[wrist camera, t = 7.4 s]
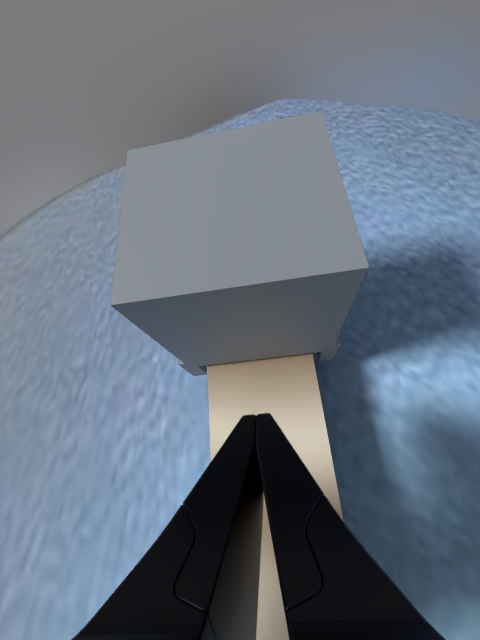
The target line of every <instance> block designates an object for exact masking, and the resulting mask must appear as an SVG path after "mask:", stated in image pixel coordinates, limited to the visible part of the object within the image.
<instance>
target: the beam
mask: <svg viewBox="0 0 480 640" xmlns="http://www.w3.org/2000/svg"><path fill="white" fill-rule="evenodd" d="M207 366H208V395H209V423H210V452H211V461H212V460H213V458H214V457H215V455H216V454H217V452H218V451H219V449H220V448H221V446H222V445H223V444H224V442H225V441H226V439H227V438H228V436H229V435H230V433H231V432H232V430H233V429H234V427H235V426H236V424H237V423H238V422H239V420H240V419H241V417H242V416H243V415H251V414H255V415H256V416H257V415H258V414H262V413H270V414H271V415H272V416H273V418H274V419H275V421H276V422H277V424H278V425H279V427H280V428H281V430H282V431H283V433H284V434H285V436H286V437H287V439H288V440H289V442H290V443H291V445H292V446H293V448H294V449H295V451H296V452H297V454H298V455H299V457H300V458H301V460H302V461H303V463H304V464H305V466H306V467H307V469H308V470H309V472H310V473H311V475H312V476H313V478H314V479H315V481H316V482H317V484H318V485H319V487H320V488H321V490H322V491H323V493H324V496H326V497H327V498H328V500H329V501H330V503H331V504H332V506H333V507H334V509H335V510H336V512H337V513H338V514H339V516H340V517H341V519H342V520H343V515H342V509H341V504H340V498H339V493H338V488H337V482H336V477H335V472H334V466H333V461H332V455H331V450H330V445H329V439H328V434H327V429H326V423H325V418H324V412H323V407H322V402H321V396H320V391H319V385H318V380H317V375H316V369H315V364H314V359H313V353H308V354H299V355H291V356H282V357H274V358H265V359H257V360H248V361H240V362H232V363H223V364H215V365H207ZM343 521H344V520H343ZM256 640H289V635H288V629H287V623H286V618H285V612H284V606H283V600H282V595H281V589H280V583H279V578H278V572H277V566H276V561H275V555H274V549H273V543H272V538H271V532H270V526H269V521H268V515H267V509H266V503H265V498H264V503H263V521H262V540H261V558H260V576H259V594H258V612H257V630H256Z"/></svg>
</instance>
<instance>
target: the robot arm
mask: <svg viewBox="0 0 480 640" xmlns="http://www.w3.org/2000/svg"><path fill="white" fill-rule="evenodd" d="M264 498H265V503H266V509H267V515H268V521H269V526H270V532H271V538H272V543H273V549H274V555H275V561H276V566H277V572H278V578H279V583H280V589H281V595H282V600H283V606H284V612H285V618H286V623H287V629H288V635H289V640H446V639H445V638H444V637H442V636H441V635H440V634H439V633H438V632H437V631H436V630H435V629H434V628H433V627H432V626H431V625H430V624H429V623H428V621H427V620H426V619H425V618H424V617H423V616H422V615H421V614H420V613H419V611H418V610H417V609H416V608H415V607H414V606H413V605H412V603H411V602H410V601H409V600H408V599H407V598H406V596H405V595H404V594H403V593H402V592H401V590H400V589H399V588H398V587H397V586H396V585H395V583H394V582H393V581H392V580H391V579H390V578H389V576H388V575H387V574H386V573H385V572H384V571H383V569H382V568H381V567H380V566H379V565H378V563H377V562H376V561H375V560H374V559H373V558H372V556H371V555H370V554H369V553H368V552H367V551H366V549H365V548H364V547H363V546H362V544H361V543H360V542H359V541H358V539H357V538H356V537H355V536H354V535H353V533H352V532H351V531H350V530H349V528H348V527H347V526H346V524H345V523H344V521H343V520H342V519H341V517H340V516H339V514H338V513H337V512H336V510H335V509H334V507H333V506H332V504H331V503H330V501H329V500H328V498H327V497H326V496H324V493H323V491H322V490H321V488H320V487H319V485H318V484H317V482H316V481H315V479H314V478H313V476H312V475H311V473H310V472H309V470H308V469H307V467H306V466H305V464H304V463H303V461H302V460H301V458H300V457H299V455H298V454H297V452H296V451H295V449H294V448H293V446H292V445H291V443H290V442H289V440H288V439H287V437H286V436H285V434H284V433H283V431H282V430H281V428H280V427H279V425H278V424H277V422H276V421H275V419H274V418H273V416H272V415H271V414H270V413H262V414H258V415H257V416H256V415H255V414H251V415H243V416H242V417H241V419H240V420H239V422H238V423H237V424H236V426H235V427H234V429H233V430H232V432H231V433H230V435H229V436H228V438H227V439H226V441H225V442H224V444H223V445H222V446H221V448H220V449H219V451H218V452H217V454H216V455H215V457H214V458H213V460H212V461H211V463H210V464H209V465H208V467H207V468H206V470H205V471H204V473H203V474H202V476H201V477H200V479H199V480H198V482H197V483H196V485H195V486H194V487H193V489H192V490H191V492H190V493H189V495H188V496H187V498H186V499H185V501H184V502H183V505H181V506H180V508H179V509H178V511H177V512H176V514H175V515H174V517H173V518H172V519H171V521H170V522H169V524H168V525H167V526H166V528H165V529H164V530H163V532H162V533H161V535H160V536H159V537H158V539H157V540H156V541H155V542H154V544H153V545H152V546H151V547H150V549H149V550H148V551H147V552H146V554H145V555H144V556H143V558H142V559H141V560H140V561H139V562H138V564H137V565H136V566H135V567H134V568H133V570H132V571H131V572H130V573H129V574H128V576H127V577H126V578H125V579H124V581H123V582H122V583H121V584H120V585H119V587H118V588H117V589H116V590H115V591H114V593H113V594H112V595H111V596H110V597H109V599H108V600H107V601H106V602H105V603H104V605H103V606H102V607H101V608H100V610H99V611H98V612H97V613H96V614H95V616H94V617H93V618H92V619H91V620H90V621H89V622H88V623H87V625H86V626H85V627H84V628H83V629H82V630H81V631H80V632H79V633H78V634H77V635H76V636H75V637H74V638H73V639H71V640H256V630H257V612H258V594H259V576H260V558H261V540H262V521H263V503H264Z"/></svg>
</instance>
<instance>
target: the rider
mask: <svg viewBox="0 0 480 640" xmlns="http://www.w3.org/2000/svg"><path fill="white" fill-rule="evenodd" d="M368 269H369V265H368V262H367V259H366V256H365V252H364V249H363V246H362V242H361V239H360V236H359V233H358V229H357V226H356V223H355V219H354V216H353V213H352V210H351V206H350V203H349V200H348V196H347V193H346V190H345V187H344V183H343V180H342V177H341V173H340V170H339V167H338V164H337V160H336V157H335V154H334V150H333V147H332V144H331V141H330V137H329V134H328V131H327V127H326V124H325V121H324V118H323V114H322V111H319V112H314V113H309V114H304V115H299V116H294V117H289V118H284V119H280V120H275V121H270V122H265V123H260V124H255V125H250V126H245V127H240V128H235V129H231V130H226V131H221V132H216V133H211V134H206V135H201V136H196V137H191V138H187V139H182V140H177V141H172V142H167V143H162V144H157V145H153V146H147V147H142V148H138V149H133V150H128V153H127V161H126V170H125V179H124V188H123V197H122V206H121V215H120V224H119V233H118V242H117V251H116V260H115V269H114V278H113V287H112V296H111V306H112V307H113V308H115V309H116V310H117V311H118V312H120V313H121V314H122V315H123V316H125V317H126V318H127V319H129V320H130V321H131V322H132V323H134V324H135V325H136V326H137V327H139V328H140V329H141V330H143V331H144V332H145V333H146V334H148V335H149V336H150V337H151V338H153V339H154V340H155V341H157V342H158V343H159V344H160V345H162V346H163V347H164V348H165V349H167V350H168V351H169V352H171V353H172V354H173V355H174V356H176V357H177V358H178V365H180V366H181V367H182V368H184V369H185V370H187V371H188V372H189V373H191V374H192V375H193V376H197V375H206V374H207V365H215V364H223V363H232V362H240V361H248V360H257V359H265V358H274V357H282V356H291V355H299V354H308V353H316V352H317V355H318V361H328V360H333V359H334V357H335V355H336V353H337V351H338V349H339V347H340V340H339V336H338V335H339V333H340V330H341V328H342V326H343V324H344V322H345V319H346V317H347V315H348V313H349V311H350V308H351V306H352V304H353V302H354V300H355V297H356V295H357V293H358V291H359V289H360V286H361V284H362V282H363V280H364V278H365V276H366V273H367V271H368Z"/></svg>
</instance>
